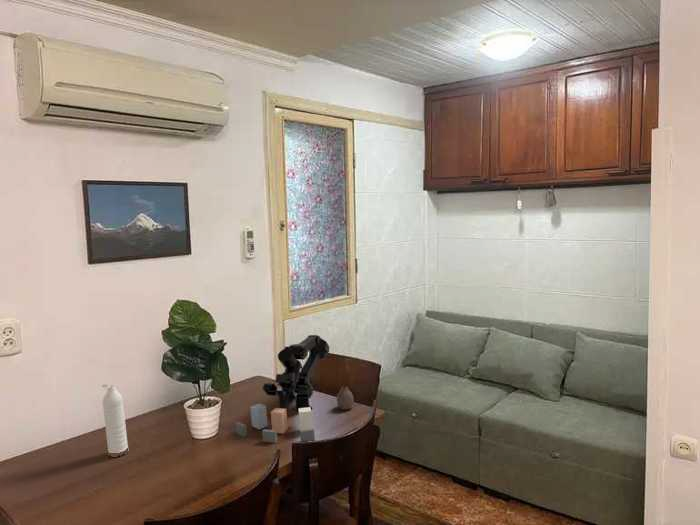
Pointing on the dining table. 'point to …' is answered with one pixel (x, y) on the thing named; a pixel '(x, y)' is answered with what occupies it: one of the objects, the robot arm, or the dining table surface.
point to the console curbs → (274, 433)
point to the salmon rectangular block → (279, 420)
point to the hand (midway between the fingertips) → (281, 411)
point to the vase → (344, 399)
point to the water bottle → (114, 420)
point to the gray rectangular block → (258, 416)
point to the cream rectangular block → (305, 418)
